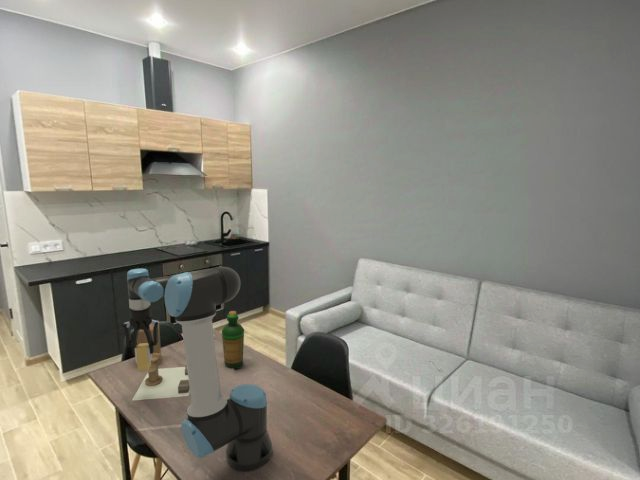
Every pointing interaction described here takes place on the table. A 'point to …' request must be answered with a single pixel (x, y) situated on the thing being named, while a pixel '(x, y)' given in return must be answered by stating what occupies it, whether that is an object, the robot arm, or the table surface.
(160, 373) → the board
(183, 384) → the notch board
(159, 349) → the wooden block
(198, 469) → the table surface
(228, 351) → the bottle
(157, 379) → the bobbin
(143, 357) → the yellow rectangular block
